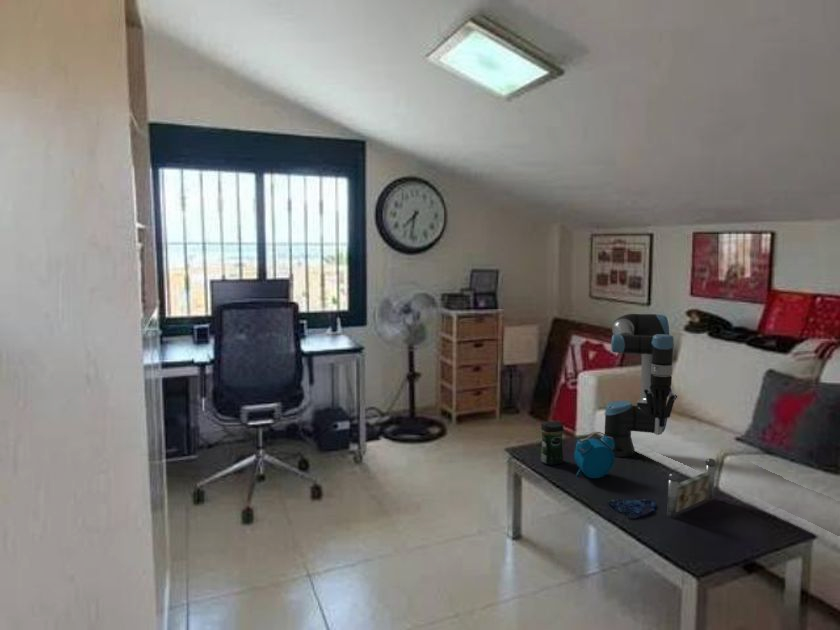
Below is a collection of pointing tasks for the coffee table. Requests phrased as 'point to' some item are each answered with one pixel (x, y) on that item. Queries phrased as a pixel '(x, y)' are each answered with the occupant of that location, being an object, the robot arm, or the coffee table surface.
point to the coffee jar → (551, 442)
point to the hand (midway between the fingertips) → (658, 433)
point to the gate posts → (674, 486)
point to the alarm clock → (594, 456)
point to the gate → (692, 491)
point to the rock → (632, 506)
